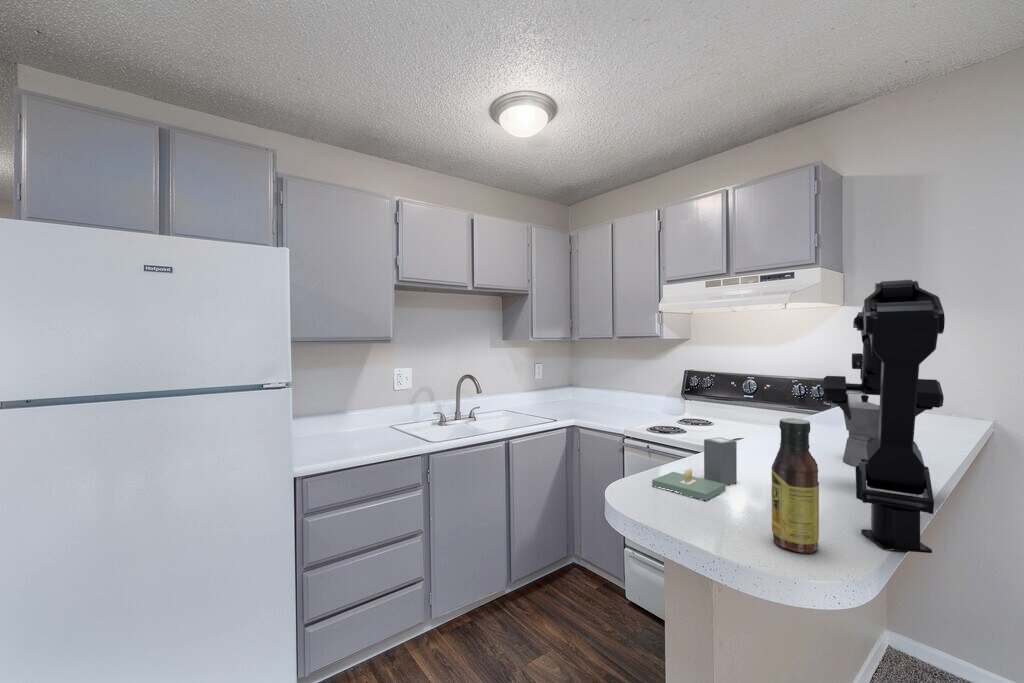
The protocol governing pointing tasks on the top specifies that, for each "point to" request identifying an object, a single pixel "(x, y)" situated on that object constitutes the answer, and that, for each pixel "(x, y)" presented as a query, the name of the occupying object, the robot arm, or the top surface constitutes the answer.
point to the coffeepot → (860, 429)
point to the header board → (689, 485)
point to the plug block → (720, 460)
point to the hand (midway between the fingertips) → (876, 421)
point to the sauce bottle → (795, 489)
